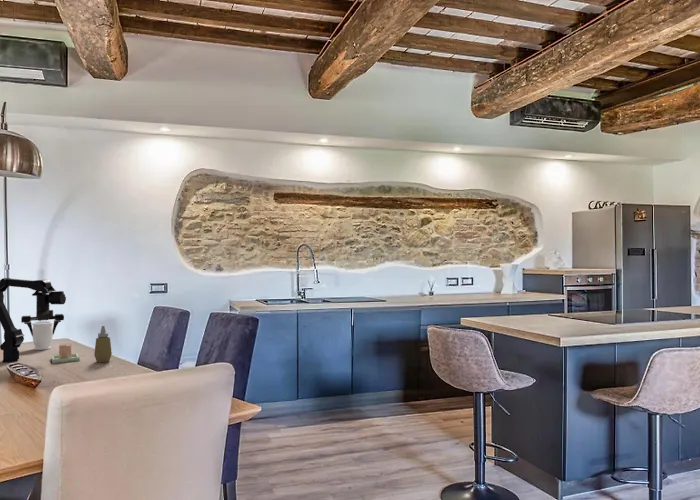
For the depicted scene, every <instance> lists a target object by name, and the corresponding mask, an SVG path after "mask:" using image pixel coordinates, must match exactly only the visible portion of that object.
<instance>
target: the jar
mask: <svg viewBox="0 0 700 500" xmlns="http://www.w3.org/2000/svg"><path fill="white" fill-rule="evenodd" d="M31 324H32V331H33V336H32V335H31V336H32V337H31V338H32V342H33V345H34V348H33V349H34V350H35V351H42V350H43V351H44V350H50V349H51V348H52V347H51V345H52V342H53V337H54V334H53V325H54V321H36V322H31Z"/></svg>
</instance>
